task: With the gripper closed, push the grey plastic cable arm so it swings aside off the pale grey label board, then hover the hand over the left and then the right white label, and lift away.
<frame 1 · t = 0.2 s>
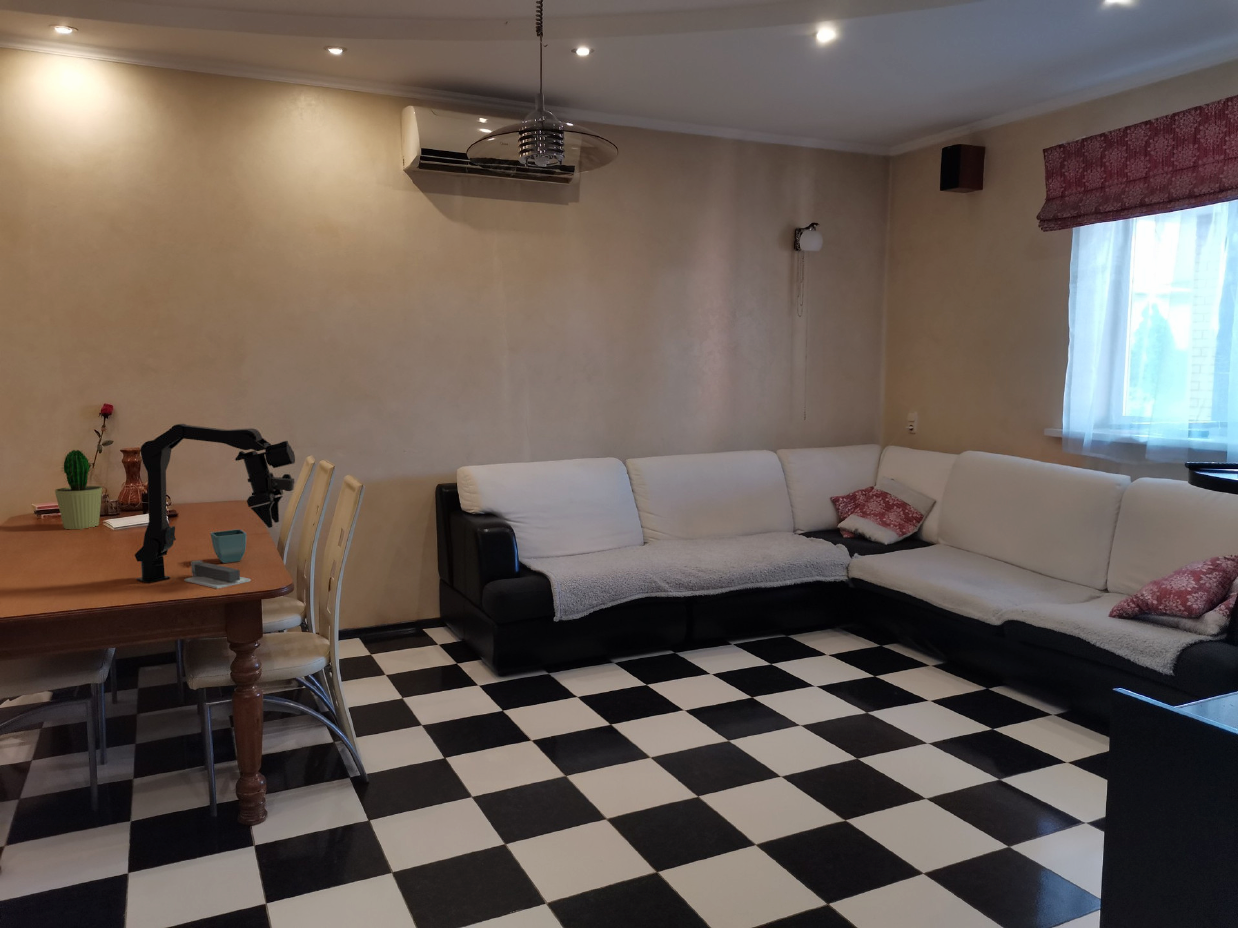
hand: (273, 524, 253), 15 cm above the table, tool pointing down, fingers open, 9 cm apart
cable arm: (213, 570, 250), point 3 cm above the table, hinge at 0.0°
label board: (217, 581, 249), on the table
flower pot: (230, 561, 275), on the table
potted cactus: (81, 527, 336), on the table
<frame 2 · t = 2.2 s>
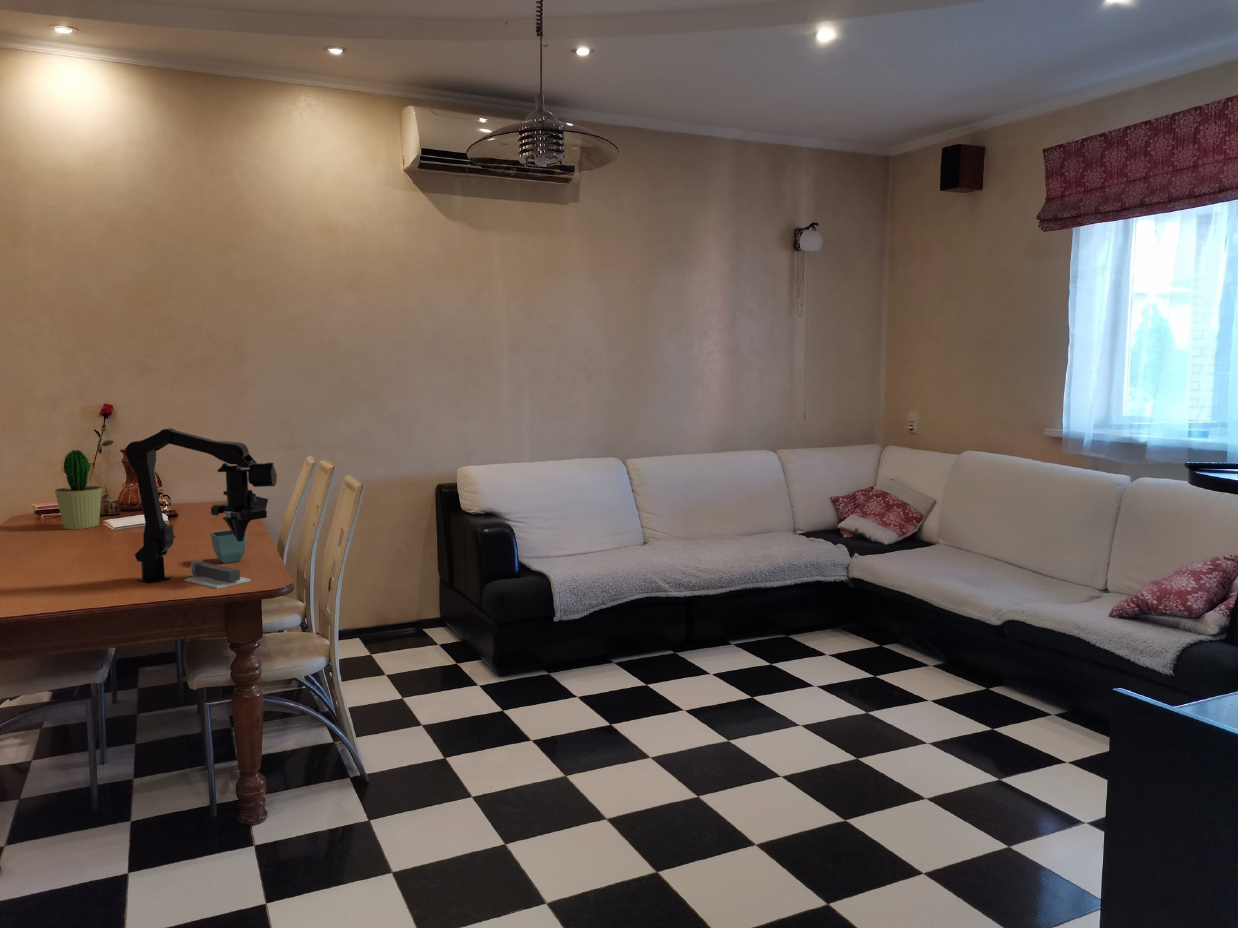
hand: (240, 541, 253), 10 cm above the table, tool pointing down, fingers closed
nothing on the table moved.
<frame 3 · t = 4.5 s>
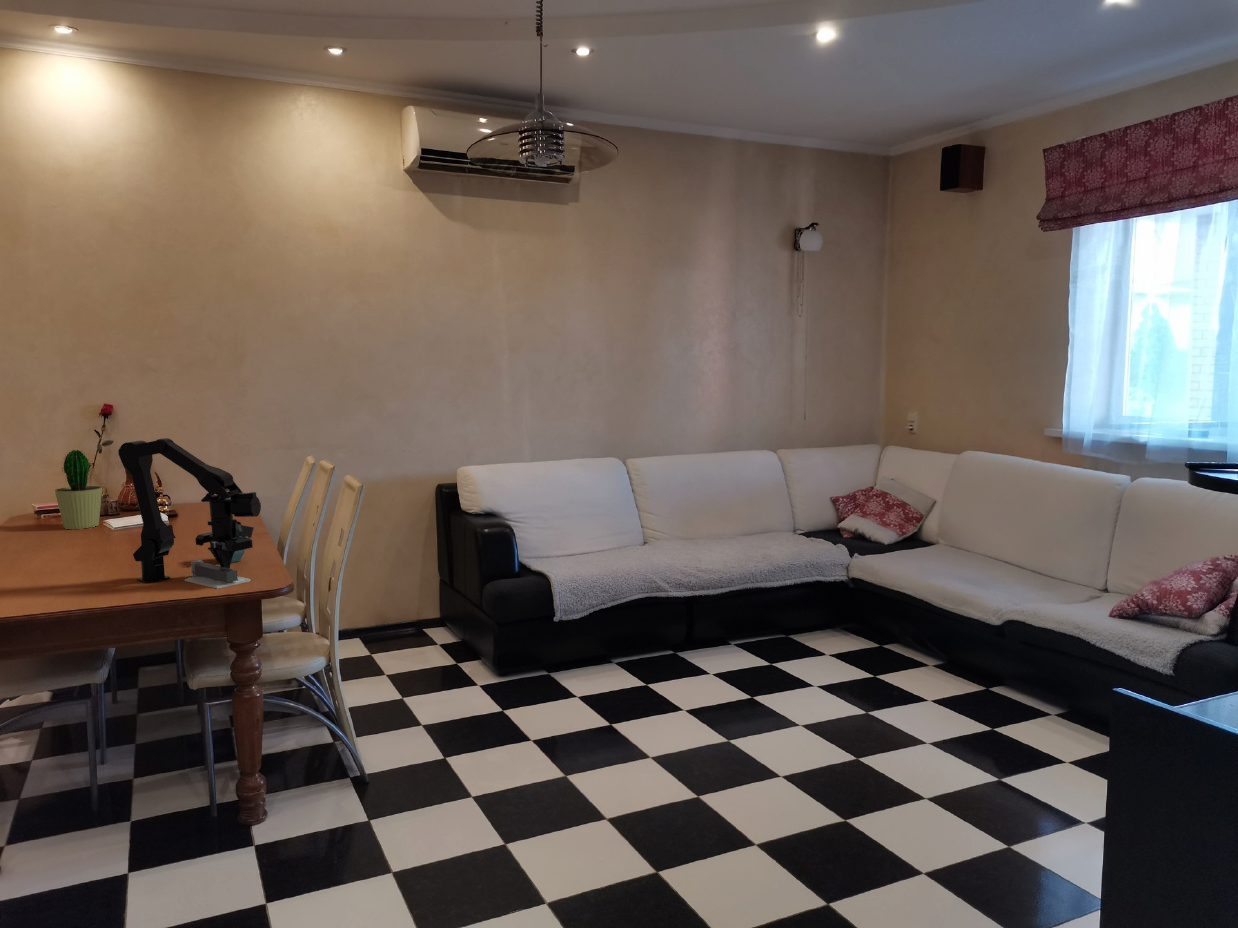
hand: (226, 571, 250), 3 cm above the table, tool pointing down, fingers closed, pressing on cable arm
cable arm: (212, 570, 249), point 3 cm above the table, hinge at -2.3°, touching gripper
everything else where it was.
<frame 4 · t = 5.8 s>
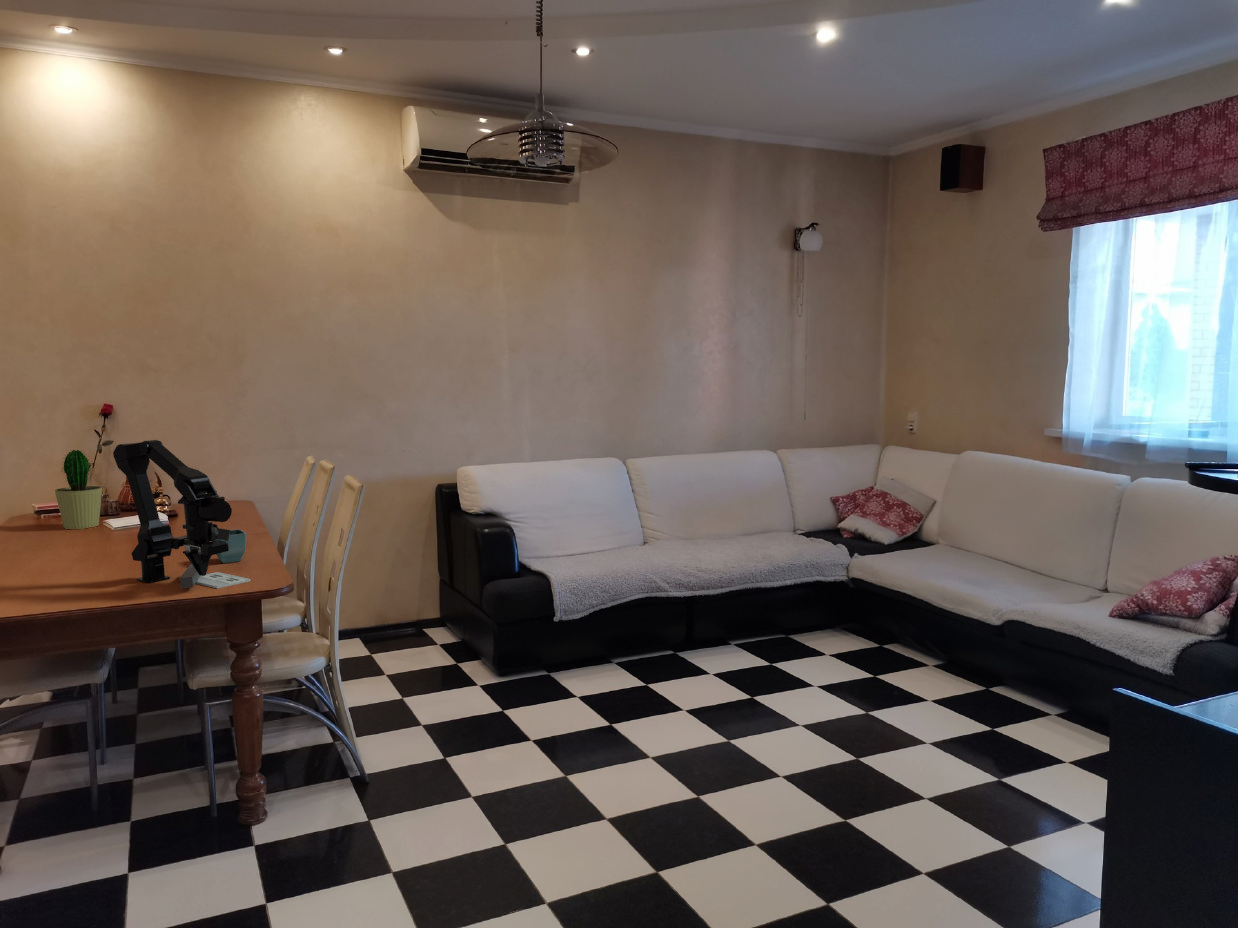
hand: (202, 575, 244), 3 cm above the table, tool pointing down, fingers closed
cable arm: (192, 573, 246), point 3 cm above the table, hinge at -38.5°, touching gripper
everything else where it was.
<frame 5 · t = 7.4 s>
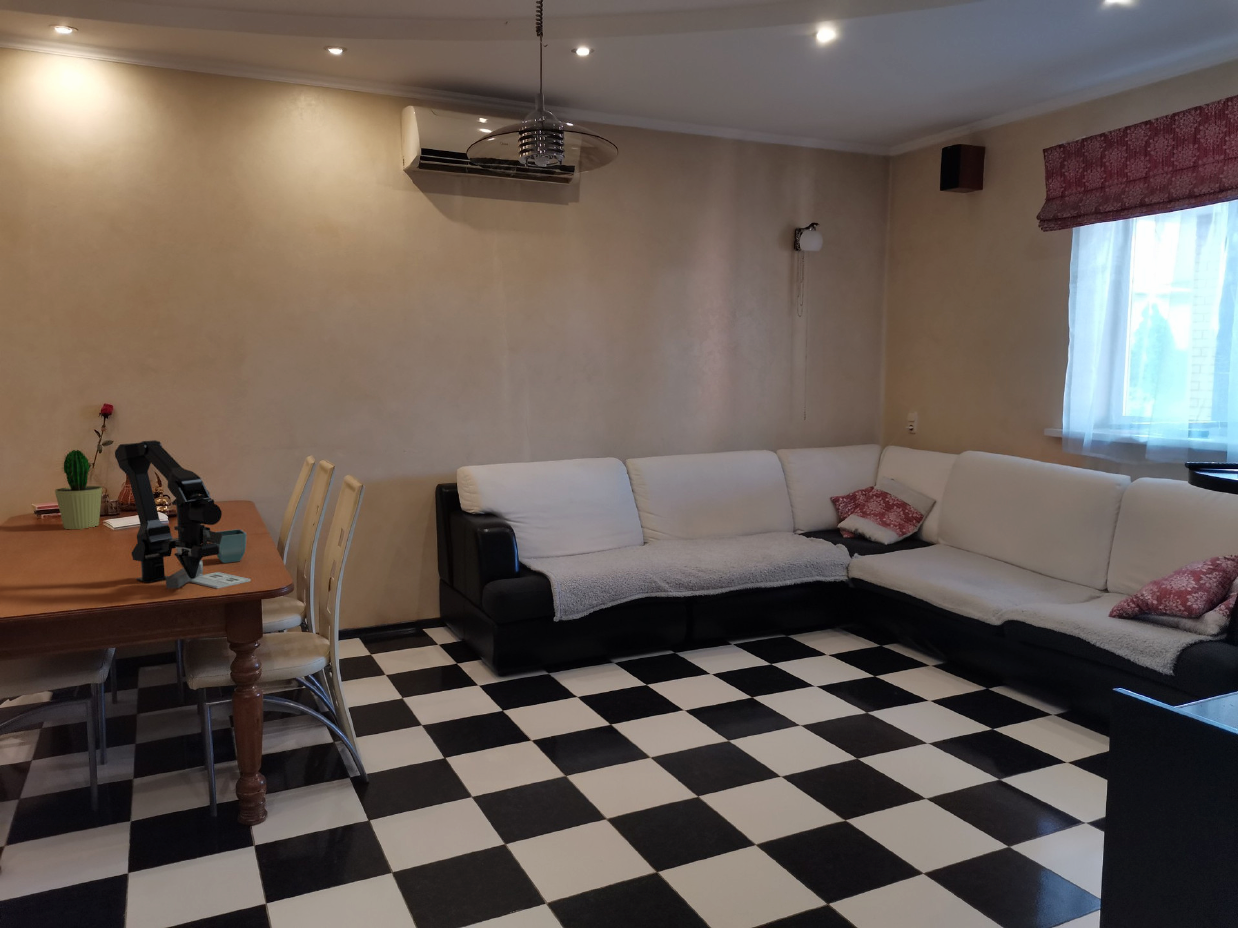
hand: (192, 578, 242), 3 cm above the table, tool pointing down, fingers closed
cable arm: (186, 573, 246), point 3 cm above the table, hinge at -49.4°
everything else where it was.
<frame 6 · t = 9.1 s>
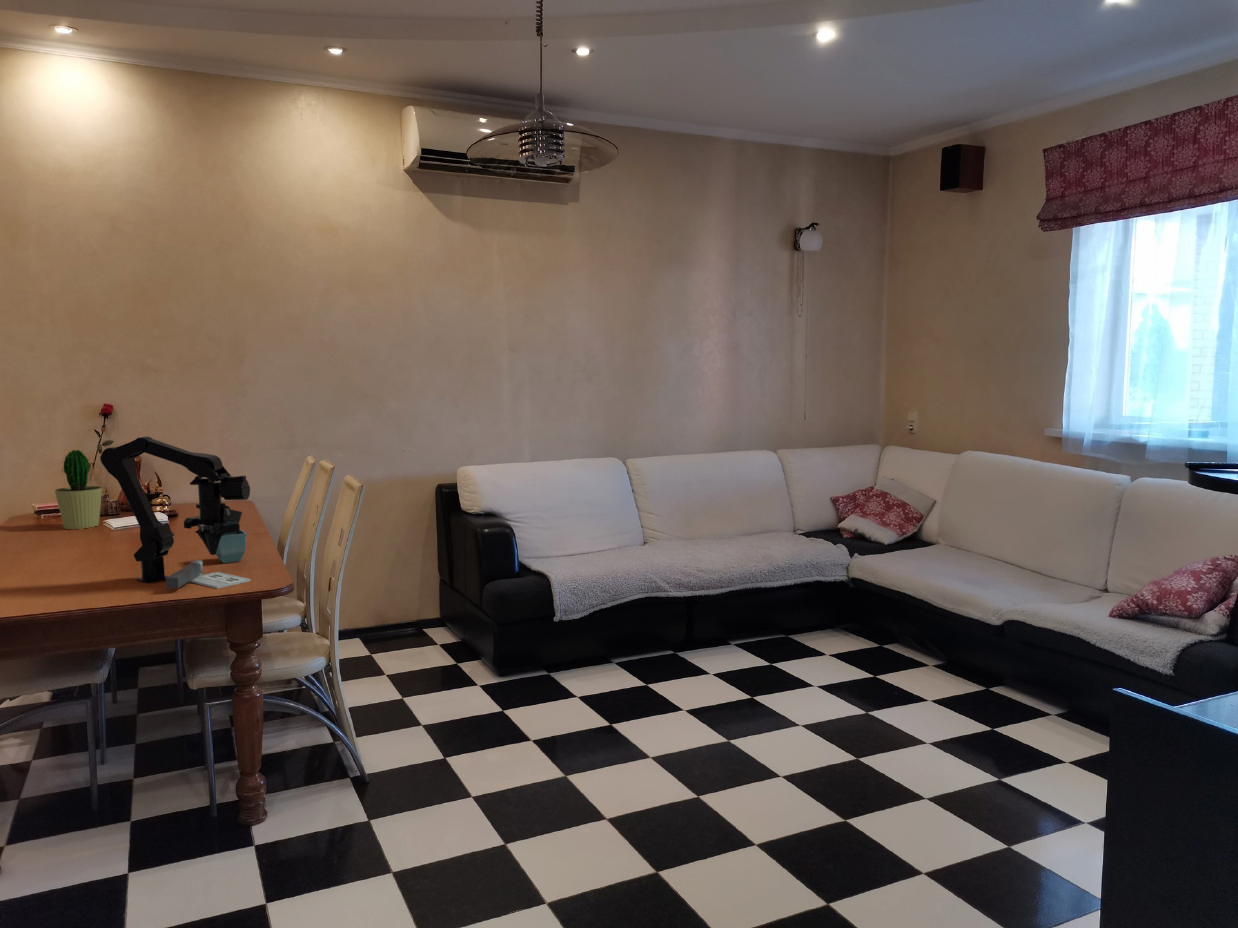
hand: (213, 554, 251), 7 cm above the table, tool pointing down, fingers closed
nothing on the table moved.
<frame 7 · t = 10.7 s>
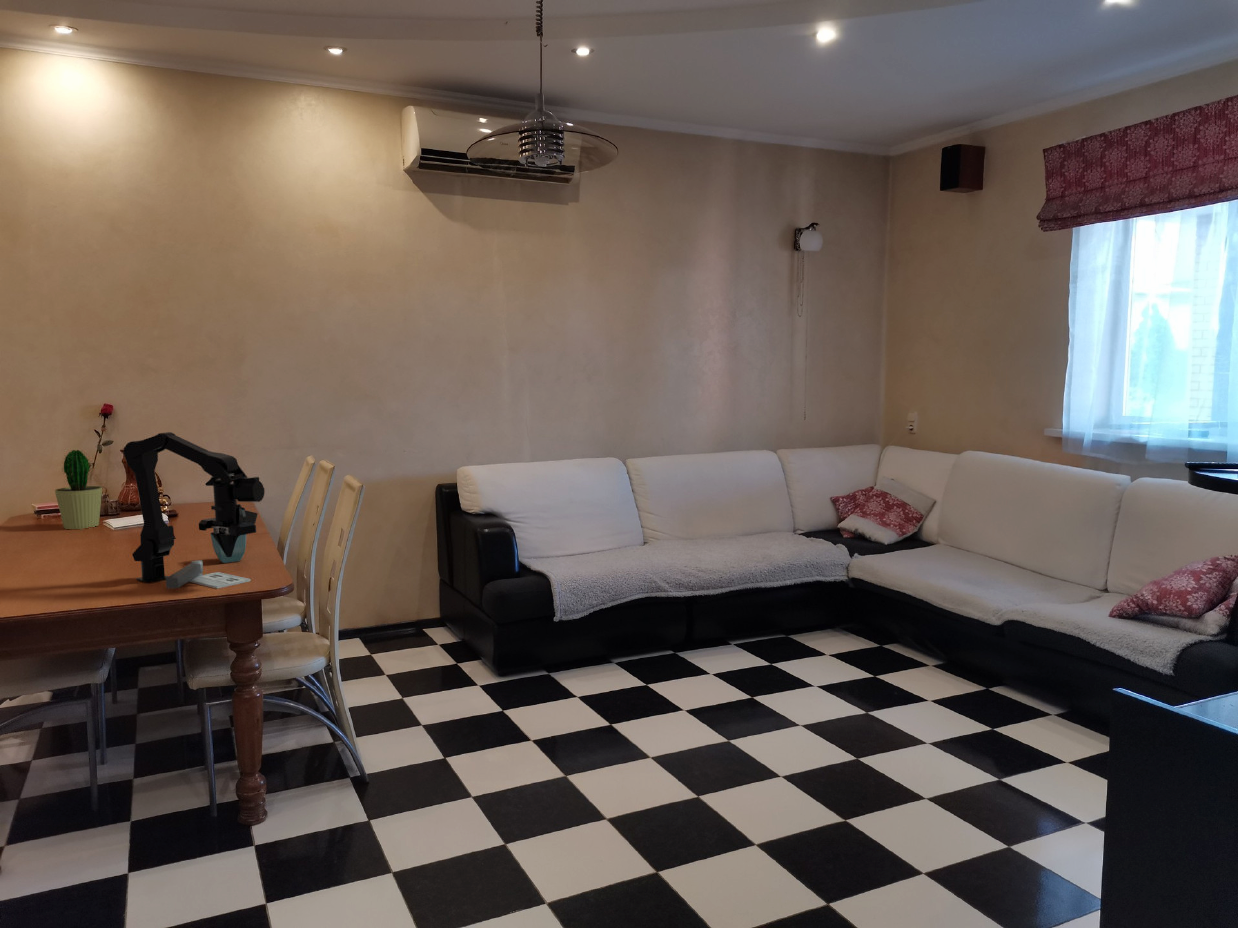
hand: (229, 556, 247), 7 cm above the table, tool pointing down, fingers closed
nothing on the table moved.
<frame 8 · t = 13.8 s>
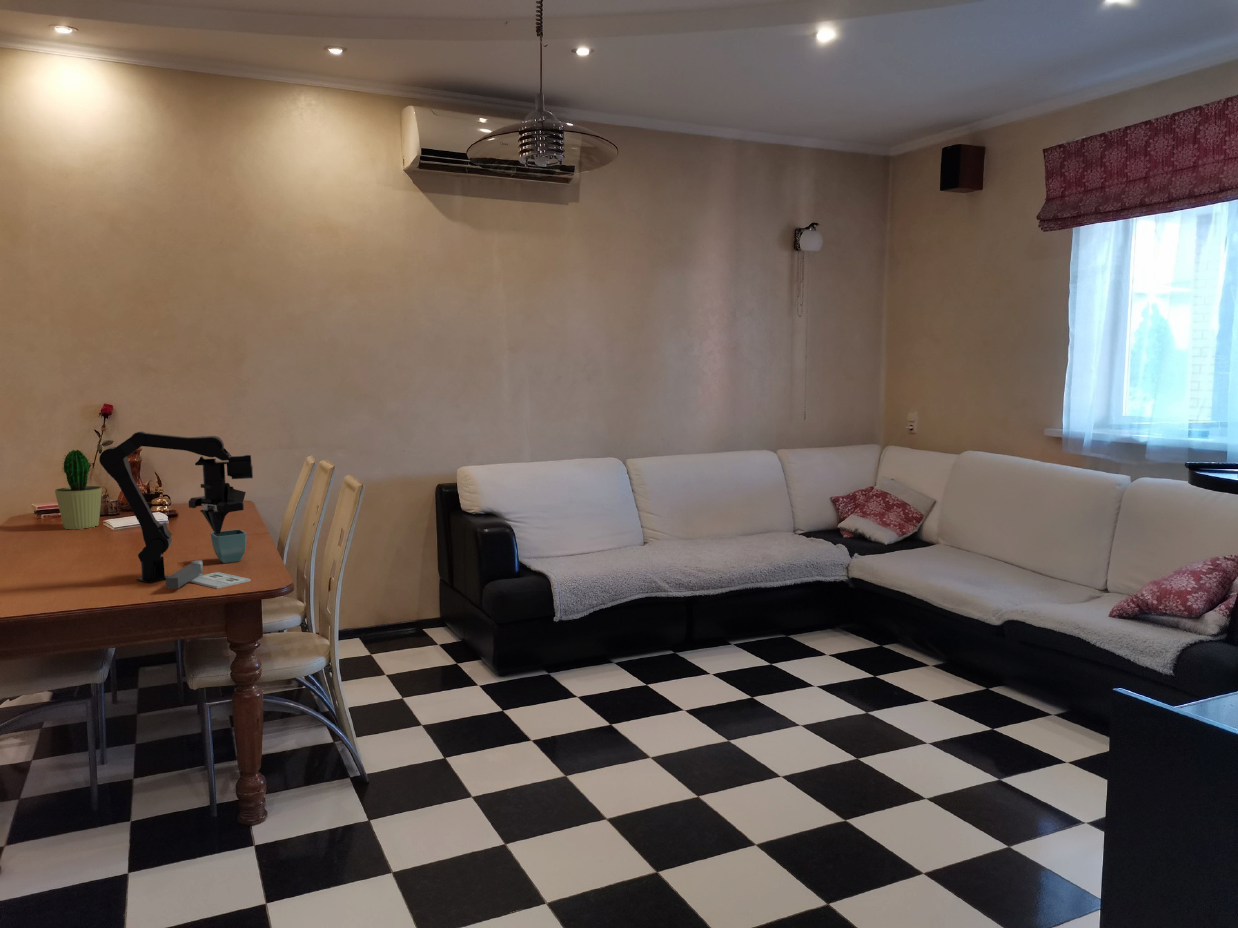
hand: (217, 533, 256), 12 cm above the table, tool pointing down, fingers closed
nothing on the table moved.
at the end: cable arm at -49° (first picture: +0°) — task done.
